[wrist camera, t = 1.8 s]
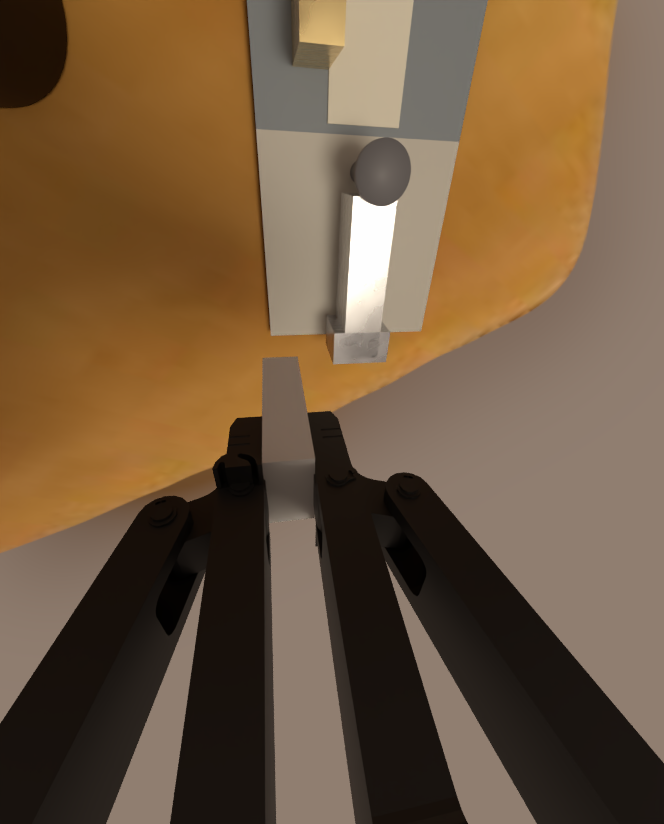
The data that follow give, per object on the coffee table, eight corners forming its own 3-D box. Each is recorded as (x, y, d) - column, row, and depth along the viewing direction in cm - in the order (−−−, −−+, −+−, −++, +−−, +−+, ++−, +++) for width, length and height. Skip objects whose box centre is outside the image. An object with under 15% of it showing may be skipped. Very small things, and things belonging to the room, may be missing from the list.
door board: (270, 330, 31) (272, 367, 25) (232, -209, 15) (214, -424, 10) (416, 326, 33) (448, 359, 27) (507, -150, 18) (622, -299, 12)
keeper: (292, 66, 20) (299, 41, 16) (290, -11, 18) (298, -61, 14) (328, 69, 20) (344, 46, 16) (330, -6, 19) (348, -53, 15)
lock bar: (330, 191, 24) (340, 195, 20) (390, 194, 24) (409, 198, 21) (325, 343, 30) (333, 364, 27) (373, 341, 31) (385, 361, 28)
